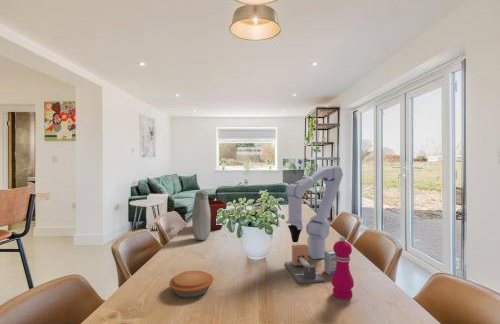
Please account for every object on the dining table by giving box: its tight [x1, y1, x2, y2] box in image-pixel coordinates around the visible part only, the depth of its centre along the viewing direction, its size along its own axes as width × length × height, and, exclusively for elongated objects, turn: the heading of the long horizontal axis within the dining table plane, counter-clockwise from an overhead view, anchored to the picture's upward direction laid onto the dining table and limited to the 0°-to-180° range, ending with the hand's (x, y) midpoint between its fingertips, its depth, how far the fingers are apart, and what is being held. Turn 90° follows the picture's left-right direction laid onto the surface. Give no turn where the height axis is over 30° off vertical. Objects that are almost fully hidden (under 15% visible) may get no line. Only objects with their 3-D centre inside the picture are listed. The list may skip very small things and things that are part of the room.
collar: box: [291, 244, 309, 266], centre depth 118 cm, size 3×6×8 cm, turn 99°
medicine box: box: [323, 249, 336, 277], centre depth 114 cm, size 8×4×9 cm, turn 105°
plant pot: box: [208, 199, 228, 231], centre depth 187 cm, size 19×19×17 cm
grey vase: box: [191, 190, 211, 241], centre depth 160 cm, size 10×10×28 cm
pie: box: [168, 270, 214, 299], centre depth 100 cm, size 15×16×5 cm
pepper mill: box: [331, 236, 355, 300], centre depth 95 cm, size 7×7×20 cm
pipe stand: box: [284, 256, 325, 285], centre depth 114 cm, size 19×10×6 cm, turn 8°
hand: (295, 241), depth 125 cm, fingers closed
